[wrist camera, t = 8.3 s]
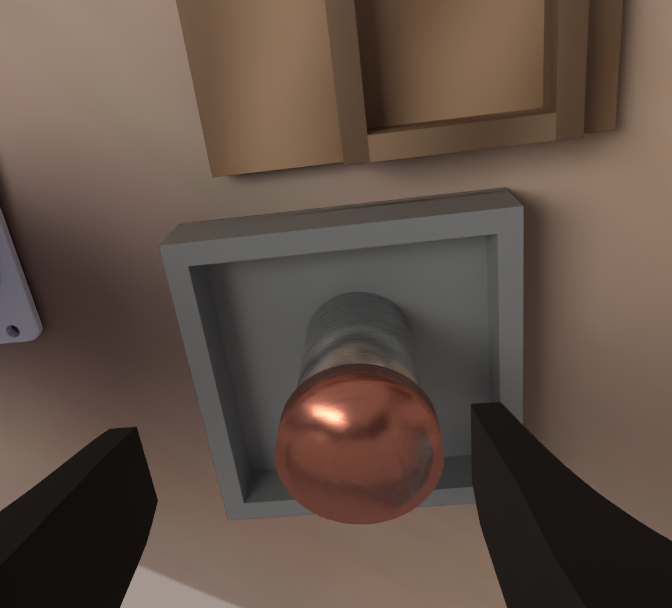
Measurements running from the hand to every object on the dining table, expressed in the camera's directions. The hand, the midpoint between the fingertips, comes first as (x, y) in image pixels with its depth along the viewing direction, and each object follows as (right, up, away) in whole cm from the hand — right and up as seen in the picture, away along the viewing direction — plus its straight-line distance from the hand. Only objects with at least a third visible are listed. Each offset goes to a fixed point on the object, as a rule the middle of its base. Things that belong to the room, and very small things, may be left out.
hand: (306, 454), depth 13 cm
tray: (+1, +1, +11) cm, 11 cm away
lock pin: (+2, +2, +10) cm, 10 cm away
